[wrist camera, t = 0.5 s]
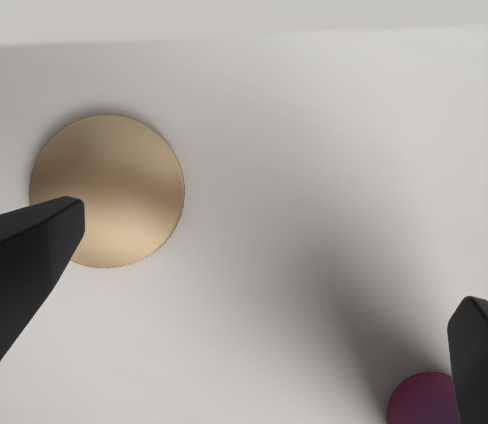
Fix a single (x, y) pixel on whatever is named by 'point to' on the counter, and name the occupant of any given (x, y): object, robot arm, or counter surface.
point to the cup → (424, 401)
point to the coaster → (113, 187)
